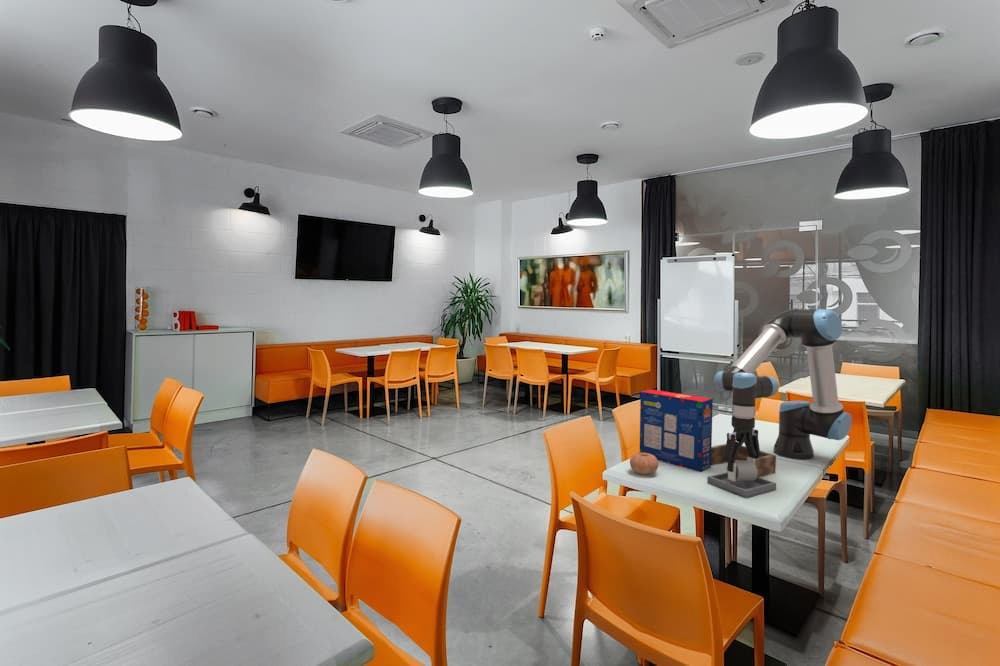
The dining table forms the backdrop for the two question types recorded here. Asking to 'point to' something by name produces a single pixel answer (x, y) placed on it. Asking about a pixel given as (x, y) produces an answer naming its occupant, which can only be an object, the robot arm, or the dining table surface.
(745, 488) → the tray
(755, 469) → the ceramic mug
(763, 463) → the bay
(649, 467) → the orange ribbed round gourd
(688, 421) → the pasta box
